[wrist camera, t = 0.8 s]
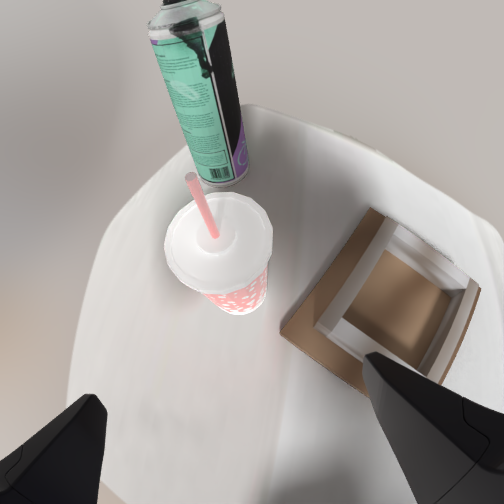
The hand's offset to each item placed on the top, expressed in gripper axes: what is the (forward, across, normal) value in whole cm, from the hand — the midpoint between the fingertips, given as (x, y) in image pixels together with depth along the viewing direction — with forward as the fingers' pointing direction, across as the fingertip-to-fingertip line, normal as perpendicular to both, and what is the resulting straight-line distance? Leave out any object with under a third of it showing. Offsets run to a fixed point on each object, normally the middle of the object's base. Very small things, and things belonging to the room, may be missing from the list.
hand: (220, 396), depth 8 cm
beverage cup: (+15, 0, +4) cm, 16 cm away
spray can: (+25, 0, -6) cm, 25 cm away
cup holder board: (+11, -12, +8) cm, 18 cm away
